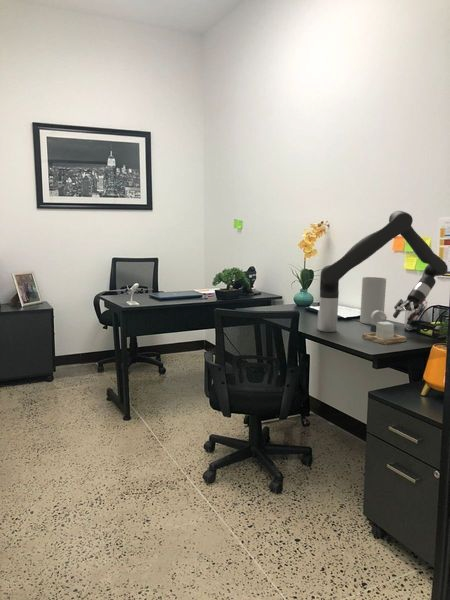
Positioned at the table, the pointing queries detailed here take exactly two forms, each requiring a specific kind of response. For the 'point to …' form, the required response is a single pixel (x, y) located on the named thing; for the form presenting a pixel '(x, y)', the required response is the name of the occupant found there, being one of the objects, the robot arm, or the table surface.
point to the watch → (382, 316)
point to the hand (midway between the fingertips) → (401, 318)
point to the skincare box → (384, 330)
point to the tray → (384, 341)
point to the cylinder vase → (372, 299)
